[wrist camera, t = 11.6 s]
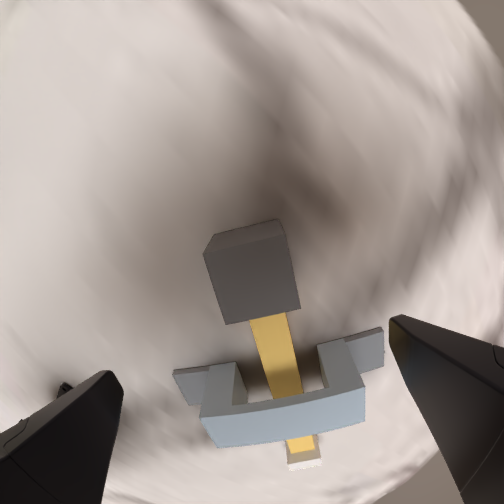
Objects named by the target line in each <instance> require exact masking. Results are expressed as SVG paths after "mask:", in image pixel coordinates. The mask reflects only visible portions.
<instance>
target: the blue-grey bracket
mask: <svg viewBox="0 0 504 504" xmlns="http://www.w3.org/2000/svg"><path fill="white" fill-rule="evenodd" d="M317 350H318V356H319V362H320V369H321V375H322V380H323V384H324V389H320V390H316V391H312V392H307V393H303V394H298V395H293V396H288V397H283V398H278V399H273V400H267V401H261V402H255V403H248V404H247V398H248V393H247V391H246V388H245V385H244V383H243V380H242V377H241V375H240V372H239V369H238V367H237V364H236V362H231V363H224V364H218V365H211V366H204V367H197V368H189V369H181V370H174V372H173V374H172V375H173V377H174V379H175V381H176V383H177V385H178V387H179V389H180V391H181V393H182V394H183V396H184V398H185V400H186V402H187V403H188V405H200V404H202V406H201V411H200V415H199V419H200V421H201V422H202V424H203V426H204V427H205V429H206V431H207V432H208V434H209V436H210V437H211V439H212V441H213V442H214V444H215V445H216V447H217V448H227V447H238V446H248V445H256V444H264V443H271V442H277V441H284V440H289V439H295V438H300V437H305V436H310V435H314V434H319V433H323V432H328V431H332V430H336V429H339V428H343V427H347V426H351V425H354V424H357V423H361V422H364V421H365V385H364V383H363V381H362V378H361V376H360V374H361V373H364V372H368V371H371V370H374V369H377V368H380V367H383V366H384V331H383V329H382V328H381V327H379V328H376V329H373V330H370V331H366V332H363V333H359V334H356V335H352V336H349V337H345V338H342V339H338V340H334V341H330V342H326V343H322V344H318V345H317Z"/></svg>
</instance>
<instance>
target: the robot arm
mask: <svg viewBox="0 0 504 504" xmlns="http://www.w3.org/2000/svg"><path fill="white" fill-rule="evenodd" d="M389 344H390V348H391V350H392V352H393V355H394V357H395V360H396V362H397V364H398V367H399V369H400V372H401V374H402V376H403V379H404V381H405V384H406V386H407V388H408V390H409V392H410V393H411V395H412V397H413V399H414V401H415V403H416V404H417V406H418V408H419V410H420V412H421V414H422V416H423V418H424V419H425V421H426V423H427V425H428V427H429V429H430V431H431V433H432V435H433V437H434V439H435V441H436V443H437V445H438V447H439V449H440V451H441V453H442V455H443V457H444V459H445V461H446V463H447V466H448V468H449V470H450V472H451V474H452V476H453V479H454V481H455V483H456V485H457V487H458V490H459V492H460V495H461V497H462V499H463V502H464V504H504V348H503V347H500V346H497V345H492V344H491V343H488V342H485V341H481V340H478V339H475V338H472V337H469V336H466V335H463V334H460V333H457V332H454V331H451V330H448V329H445V328H442V327H439V326H436V325H433V324H430V323H427V322H424V321H421V320H418V319H415V318H412V317H409V316H406V315H403V314H401V315H397V316H394V317H391V318H390V320H389ZM123 396H124V391H123V388H122V386H121V384H120V383H119V381H118V379H117V378H116V376H115V374H114V373H113V372H112V371H110V370H102V371H99V372H98V373H96V374H95V375H93V376H92V377H90V378H89V379H87V380H86V381H84V382H82V383H81V384H79V385H78V386H76V387H75V388H73V389H72V388H71V387H69V386H68V385H67V384H65V383H62V385H61V386H60V389H59V392H58V395H57V399H56V400H54V401H53V402H51V403H50V404H48V405H47V406H45V407H43V408H42V409H40V410H39V411H37V412H36V413H34V414H32V415H31V416H30V417H28V418H26V419H24V420H22V419H21V420H20V421H19V423H18V424H16V425H15V426H13V427H11V428H9V429H8V430H6V431H4V432H2V433H0V504H101V502H102V497H103V492H104V487H105V482H106V477H107V473H108V468H109V464H110V460H111V455H112V451H113V447H114V443H115V439H116V435H117V431H118V426H119V419H120V413H121V407H122V401H123Z"/></svg>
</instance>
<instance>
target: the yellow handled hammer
mask: <svg viewBox="0 0 504 504" xmlns="http://www.w3.org/2000/svg"><path fill="white" fill-rule="evenodd" d="M203 256H204V260H205V263H206V266H207V269H208V272H209V276H210V279H211V282H212V285H213V288H214V291H215V294H216V297H217V300H218V303H219V306H220V309H221V312H222V315H223V318H224V321H225V324H226V325H228V324H233V323H238V322H243V321H248V320H249V322H250V325H251V328H252V332H253V335H254V338H255V342H256V345H257V348H258V351H259V355H260V358H261V361H262V364H263V368H264V371H265V374H266V377H267V381H268V384H269V387H270V390H271V393H272V396H273V399H278V398H283V397H288V396H293V395H298V394H303V388H302V384H301V379H300V375H299V370H298V366H297V361H296V357H295V352H294V348H293V343H292V339H291V334H290V330H289V326H288V321H287V317H286V313H285V312H289V311H293V310H297V309H301V306H300V301H299V296H298V291H297V286H296V281H295V277H294V272H293V267H292V263H291V258H290V254H289V249H288V245H287V240H286V236H285V233H284V230H283V228H282V226H281V223H280V221H279V219H276V220H272V221H267V222H263V223H259V224H255V225H251V226H247V227H243V228H239V229H235V230H231V231H227V232H223V233H219V234H215V235H214V236H213V237H212V239H211V241H210V242H209V244H208V246H207V247H206V249H205V251H204V253H203ZM286 452H287V463H288V467H289V469H290V471H294V470H300V469H305V468H311V467H315V466H320V465H322V461H321V455H320V450H319V445H318V439H317V434H315V435H310V436H305V437H300V438H295V439H289V440H286Z"/></svg>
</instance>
